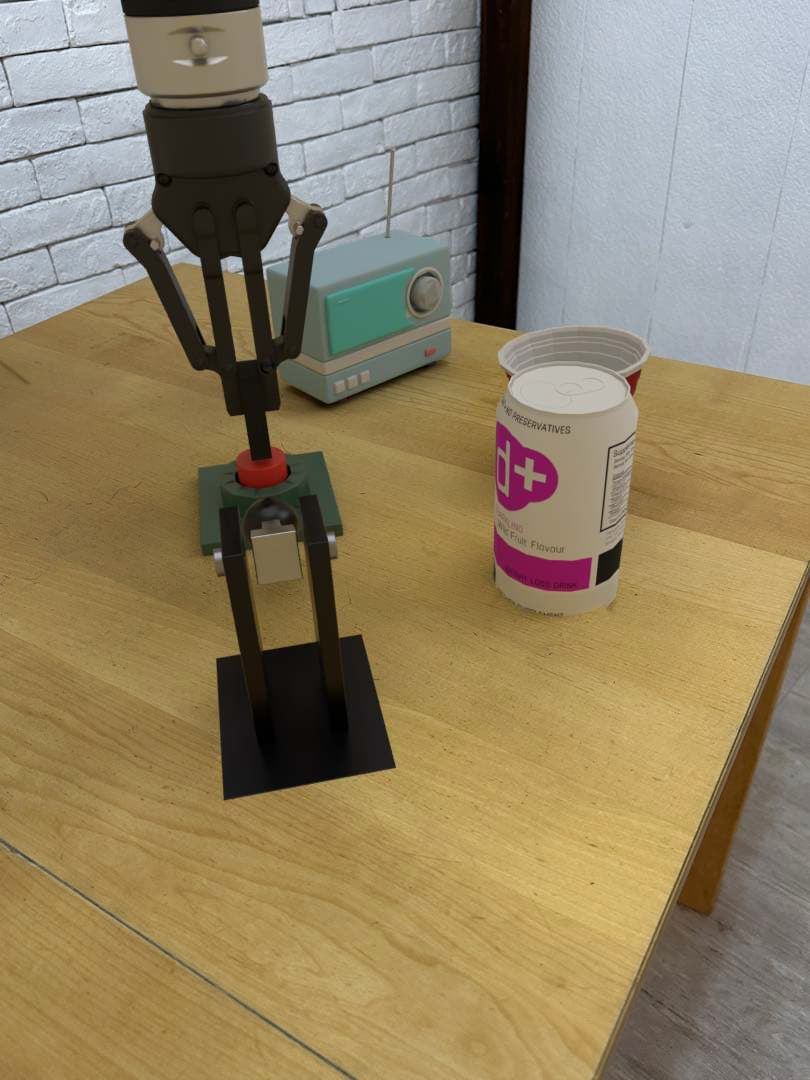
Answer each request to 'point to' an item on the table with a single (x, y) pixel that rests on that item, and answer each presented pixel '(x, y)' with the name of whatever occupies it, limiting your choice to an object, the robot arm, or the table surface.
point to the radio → (368, 312)
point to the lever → (273, 540)
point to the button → (262, 469)
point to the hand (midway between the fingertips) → (260, 450)
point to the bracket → (294, 681)
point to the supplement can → (562, 486)
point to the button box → (264, 495)
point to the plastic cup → (578, 350)
